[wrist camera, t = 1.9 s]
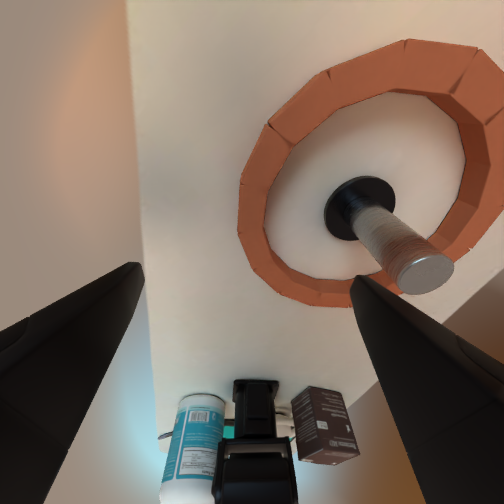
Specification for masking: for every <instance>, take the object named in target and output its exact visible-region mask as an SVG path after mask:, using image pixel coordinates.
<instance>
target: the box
mask: <svg viewBox="0 0 504 504" xmlns="http://www.w3.org/2000/svg"><path fill="white" fill-rule="evenodd" d="M291 404H292V413H293V421H294V428H295V436H296V444H297V451H298V460H299V461H305V462H311V463H316V464H326V465H337V464H339V463H341V462H344V461H346V460H348V459H351V458H353V457H356V456H358V455H360V452H359V449H358V446H357V442H356V439H355V436H354V433H353V429H352V426H351V423H350V420H349V417H348V413H347V410H346V407H345V404H344V400H343V397H342V394H341V393H338V392H334V391H329V390H324V389H319V388H314V387H308V388H307V389H306V390H305V391H304V392H303V393H301V394H300V395H299V396H298V397H296V398H295V399H294V400H292V402H291Z"/></svg>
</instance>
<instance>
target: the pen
mask: <svg viewBox="0 0 504 504" xmlns="http://www.w3.org/2000/svg"><path fill="white" fill-rule="evenodd" d="M172 434H173V432H171V433H167V434H165V435H162V436H160V437H159V438H158V439H163V438H167V437H169V436H172Z"/></svg>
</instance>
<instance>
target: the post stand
mask: <svg viewBox="0 0 504 504" xmlns="http://www.w3.org/2000/svg"><path fill="white" fill-rule="evenodd" d="M394 208H395V194H394V191H393V189H392V187H391V186H390V185H389V184H388V183H387V182H386V181H384V180H382V179H380V178H378V177H374V176H360V177H356V178H353V179H351V180H349V181H347V182H345V183H344V184H342V185H341V186H339V187H338V188H337V189H336V190H335V191H334V192H333V193H332V195H331V196H330V198H329V199H328V201H327V203H326V206H325V209H324V221H325V224H326V227H327V228H328V230H329V231H330V233H331V234H332V235H334V236H335V237H337V238H339V239H342V240H347V241H354V240H360V241H361V242H362V243H363V245H364V246H365V247H366V248H367V250H368V251H369V252H370V253H371V255H372V256H373V257H374V258H375V260H376V261H377V262H378V263H379V264H380V266H381V267H382V268H383V269H384V271H385V272H386V273H387V274H388V276H389V277H390V278H391V279H392V281H393V282H394V283H395V284H396V285H397V287H398V288H399V289H400V290H401V291H402V292H404V293H406V294H411V295H418V294H424V293H427V292H430V291H433V290H435V289H437V288H438V287H440V286H441V285H443V284H444V283H445V282H446V281H447V280H448V279H449V278H450V277H451V275H452V273H453V271H454V264H453V261H452V260H451V259H450V258H449V257H448V256H446V255H445V254H444V253H442V252H441V251H440V250H438V249H437V248H436V247H435V246H433V245H432V244H431V243H429V242H428V241H427V240H425V239H424V238H423V237H422V236H420V235H419V234H418V233H416V232H415V231H414V230H413V229H411V228H410V227H409V226H407V225H406V224H405V223H403V222H402V221H401V220H400V219H398V218H397V217H396V216H394V215H393V214H392V213H393V211H394Z"/></svg>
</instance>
